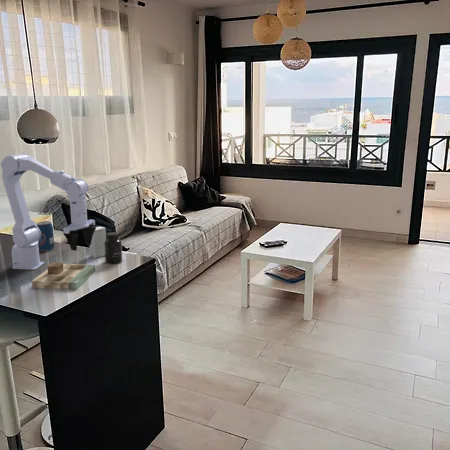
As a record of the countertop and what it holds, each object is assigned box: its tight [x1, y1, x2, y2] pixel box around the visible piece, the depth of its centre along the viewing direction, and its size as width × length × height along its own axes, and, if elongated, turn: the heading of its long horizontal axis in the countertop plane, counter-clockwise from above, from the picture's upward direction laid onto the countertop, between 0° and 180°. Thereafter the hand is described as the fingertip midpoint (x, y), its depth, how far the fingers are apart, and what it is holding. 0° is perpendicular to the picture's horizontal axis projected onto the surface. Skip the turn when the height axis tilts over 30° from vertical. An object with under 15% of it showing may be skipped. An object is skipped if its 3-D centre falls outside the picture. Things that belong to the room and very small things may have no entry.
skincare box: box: [88, 225, 107, 259], centre depth 190 cm, size 6×4×12 cm
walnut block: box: [47, 262, 64, 275], centre depth 164 cm, size 4×4×3 cm
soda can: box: [36, 220, 56, 252], centre depth 198 cm, size 7×7×12 cm
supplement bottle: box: [104, 231, 123, 265], centre depth 182 cm, size 7×7×12 cm
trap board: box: [31, 263, 97, 291], centre depth 165 cm, size 16×18×2 cm
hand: (81, 247), depth 170 cm, fingers open, 7 cm apart
